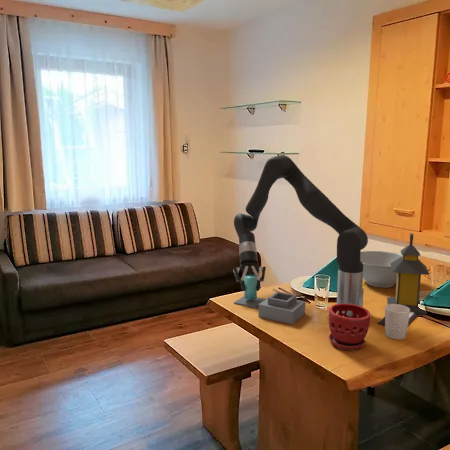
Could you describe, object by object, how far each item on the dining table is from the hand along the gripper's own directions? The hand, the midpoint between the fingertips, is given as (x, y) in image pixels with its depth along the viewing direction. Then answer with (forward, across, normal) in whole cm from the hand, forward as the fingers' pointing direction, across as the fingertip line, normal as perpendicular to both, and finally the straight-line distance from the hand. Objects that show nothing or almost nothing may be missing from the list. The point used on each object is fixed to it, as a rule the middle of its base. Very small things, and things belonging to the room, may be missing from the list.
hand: (251, 290), depth 185 cm
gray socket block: (+13, +10, -5) cm, 18 cm away
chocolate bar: (+19, +53, -9) cm, 57 cm away
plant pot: (+32, +28, -23) cm, 48 cm away
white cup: (+28, +46, -19) cm, 57 cm away
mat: (+3, 0, +5) cm, 6 cm away
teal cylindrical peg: (+1, 0, +4) cm, 4 cm away
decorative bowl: (-11, +63, +20) cm, 66 cm away
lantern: (+10, +62, -1) cm, 63 cm away
